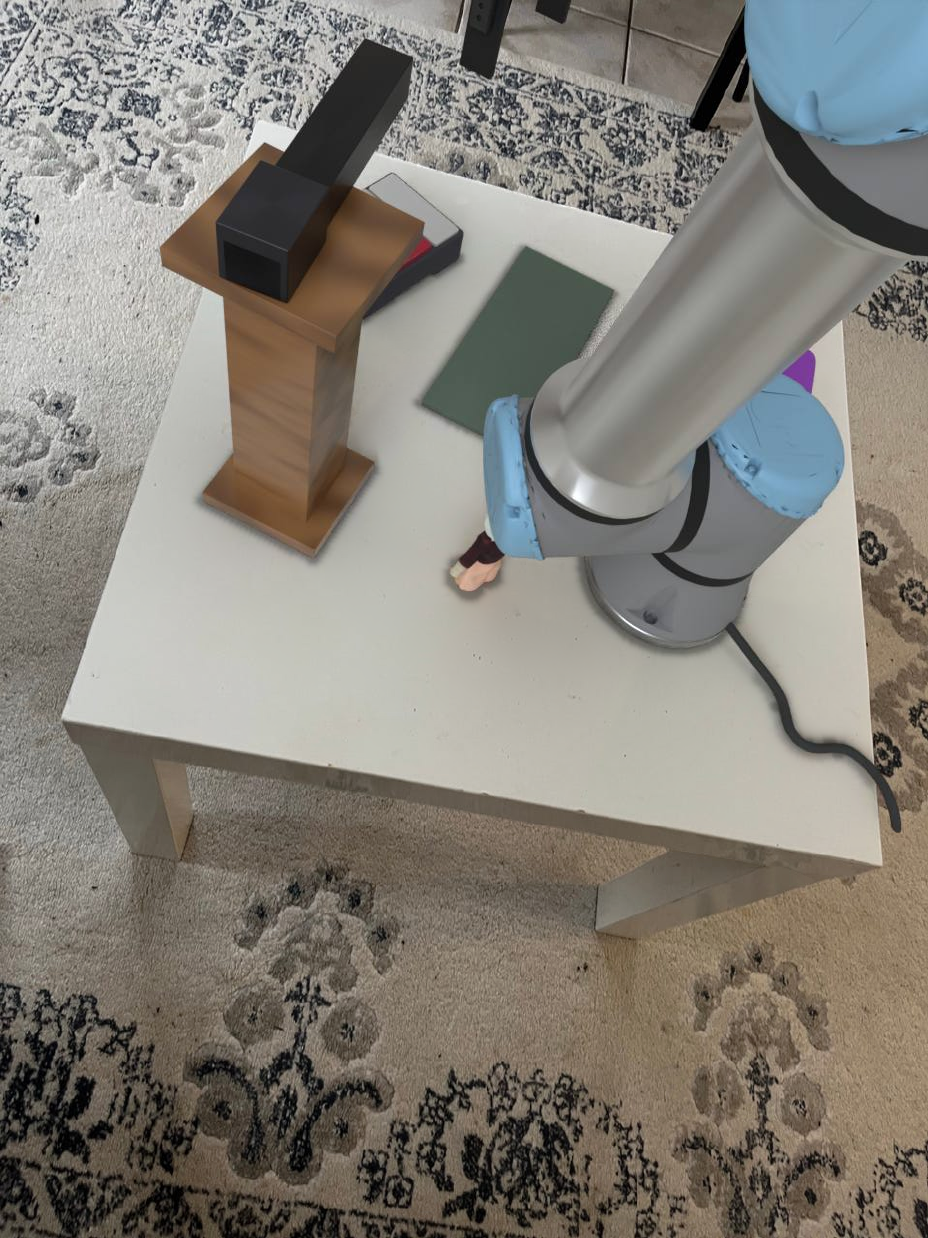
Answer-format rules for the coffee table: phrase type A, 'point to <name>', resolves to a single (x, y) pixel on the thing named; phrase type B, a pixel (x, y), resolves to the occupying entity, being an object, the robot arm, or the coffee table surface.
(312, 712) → the coffee table surface
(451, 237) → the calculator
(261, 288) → the black square bar
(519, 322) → the mat
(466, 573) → the grandmother figurine
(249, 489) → the stand
